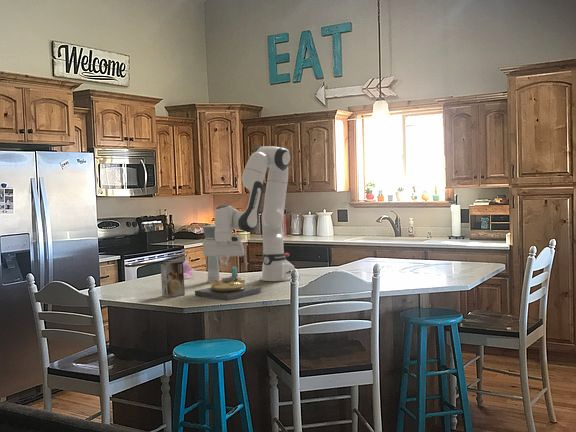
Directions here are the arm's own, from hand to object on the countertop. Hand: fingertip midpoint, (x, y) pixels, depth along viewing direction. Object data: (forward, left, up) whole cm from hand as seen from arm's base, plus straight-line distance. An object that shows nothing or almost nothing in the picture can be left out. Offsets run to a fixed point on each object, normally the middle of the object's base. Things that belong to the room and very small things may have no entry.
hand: (223, 265), depth 323 cm
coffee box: (+24, -11, -12) cm, 29 cm away
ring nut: (+5, +9, -9) cm, 14 cm away
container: (-15, -24, -12) cm, 31 cm away
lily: (-15, -48, -12) cm, 52 cm away
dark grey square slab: (+9, +11, -12) cm, 19 cm away
